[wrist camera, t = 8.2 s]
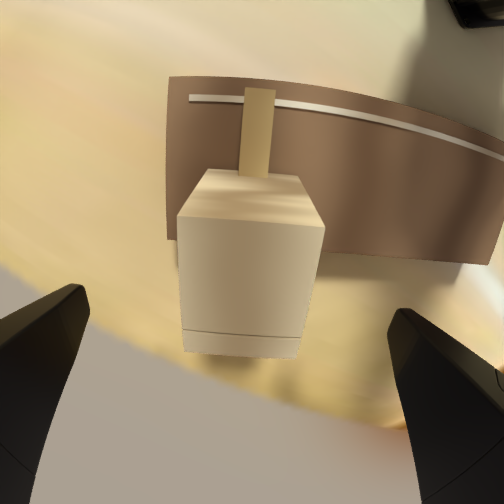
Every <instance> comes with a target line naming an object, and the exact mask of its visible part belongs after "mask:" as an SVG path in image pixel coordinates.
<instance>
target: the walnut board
mask: <svg viewBox="0 0 504 504" xmlns="http://www.w3.org/2000/svg"><path fill="white" fill-rule="evenodd" d="M245 87H249V88H262V89H272V90H276V94H275V105H274V115H273V126H272V136H271V146H270V157H269V167H268V173H274V174H284V175H294V176H298V177H299V179H300V181H301V183H302V184H303V186H304V188H305V190H306V192H307V194H308V195H309V197H310V199H311V201H312V203H313V205H314V207H315V208H316V210H317V212H318V214H319V216H320V218H321V220H322V222H323V224H324V226H325V232H324V238H323V243H322V248H321V251H324V252H337V253H349V254H362V255H374V256H386V257H398V258H410V259H421V260H433V261H445V262H456V263H468V264H479V265H488V264H489V261H490V259H491V256H492V253H493V251H494V248H495V245H496V242H497V239H498V236H499V233H500V230H501V227H502V224H503V221H504V142H503V141H501V140H499V139H497V138H494V137H492V136H490V135H488V134H485V133H483V132H481V131H478V130H476V129H473V128H471V127H468V126H466V125H463V124H460V123H458V122H455V121H452V120H450V119H447V118H444V117H441V116H438V115H435V114H432V113H429V112H426V111H423V110H419V109H416V108H413V107H409V106H406V105H402V104H399V103H395V102H391V101H387V100H384V99H380V98H375V97H371V96H367V95H362V94H358V93H353V92H348V91H343V90H338V89H332V88H327V87H321V86H314V85H308V84H301V83H293V82H285V81H275V80H265V79H253V78H237V77H210V76H181V77H169V85H168V103H167V128H166V219H167V240H177V215H178V213H179V212H180V210H181V208H182V207H183V205H184V204H185V202H186V201H187V199H188V198H189V196H190V195H191V193H192V192H193V190H194V189H195V187H196V186H197V184H198V183H199V181H200V180H201V178H202V177H203V175H204V174H205V172H206V171H207V170H208V169H222V170H237V171H239V159H240V145H241V132H242V119H243V107H244V95H245Z"/></svg>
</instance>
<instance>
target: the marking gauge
mask: <svg viewBox="0 0 504 504" xmlns="http://www.w3.org/2000/svg"><path fill="white" fill-rule="evenodd" d="M275 94H276V90H272V89H262V88H249V87H245V95H244V107H243V119H242V132H241V145H240V159H239V171H237V170H222V169H208V170H207V171H206V172H205V174H204V175H203V177H202V178H201V180H200V181H199V183H198V184H197V186H196V187H195V189H194V190H193V192H192V193H191V195H190V196H189V198H188V199H187V201H186V202H185V204H184V205H183V207H182V208H181V210H180V212H179V213H178V215H177V246H178V272H179V291H180V307H181V321H182V329H183V331H182V333H183V345H184V352H193V353H203V354H213V355H225V356H238V357H253V358H272V359H296V357H297V353H298V349H299V345H300V341H301V337H302V333H303V329H304V325H305V321H306V317H307V312H308V308H309V304H310V300H311V295H312V291H313V286H314V282H315V277H316V272H317V267H318V263H319V258H320V253H321V248H322V243H323V238H324V232H325V226H324V224H323V222H322V220H321V218H320V216H319V214H318V212H317V210H316V208H315V207H314V205H313V203H312V201H311V199H310V197H309V195H308V194H307V192H306V190H305V188H304V186H303V184H302V183H301V181H300V179H299V177H298V176H294V175H284V174H274V173H268V167H269V157H270V146H271V136H272V126H273V115H274V105H275Z"/></svg>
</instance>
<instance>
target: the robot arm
mask: <svg viewBox="0 0 504 504" xmlns="http://www.w3.org/2000/svg"><path fill="white" fill-rule="evenodd" d="M448 1H449V3H450V5H451V7H452V9H453V11H454V13H455V15H456V17H457V20H458V22H459V24H460V25H461V26H462V27H463V28H464V29H473V28H483V27H497V26H504V0H448ZM464 19H465V20H466V22H467V24H466V23H465V20H464ZM89 315H90V307H89V303H88V299H87V295H86V291H85V288H84V286H83V285H80V284H73V283H72V284H68V285H66V286H64V287H62V288H60V289H58V290H56V291H54V292H52V293H50V294H48V295H46V296H44V297H43V298H40V299H38V300H36V301H35V302H33V303H31V304H29V305H27V306H25V307H23V308H21V309H19V310H17V311H15V312H13V313H11V314H10V315H8V316H6V317H4V318H2V319H0V504H29V502H30V497H31V493H32V489H33V485H34V481H35V475H36V472H37V468H38V465H39V461H40V457H41V454H42V450H43V447H44V444H45V441H46V438H47V434H48V431H49V428H50V425H51V422H52V419H53V416H54V414H55V411H56V408H57V405H58V402H59V399H60V397H61V394H62V392H63V389H64V386H65V384H66V381H67V379H68V376H69V374H70V371H71V369H72V366H73V364H74V361H75V358H76V356H77V352H78V350H79V346H80V343H81V340H82V337H83V333H84V331H85V327H86V325H87V322H88V319H89ZM387 339H388V344H389V349H390V355H391V360H392V366H393V372H394V377H395V382H396V386H397V389H398V393H399V397H400V401H401V405H402V409H403V413H404V417H405V421H406V425H407V429H408V434H409V438H410V442H411V447H412V452H413V457H414V462H415V466H416V472H417V477H418V483H419V489H420V496H421V501H422V504H504V374H503V373H502V372H500V371H499V370H497V369H495V368H494V367H493V366H492V365H491V364H489V363H488V362H486V361H485V360H484V359H482V358H481V357H480V356H478V355H477V354H475V353H474V352H473V351H471V350H470V349H468V348H467V347H466V346H464V345H463V344H461V343H460V342H458V341H457V340H456V339H454V338H453V337H451V336H450V335H448V334H447V333H446V332H444V331H443V330H441V329H440V328H438V327H437V326H435V325H434V324H433V323H431V322H430V321H428V320H427V319H425V318H424V317H422V316H421V315H419V314H418V313H416V312H415V311H413V310H412V309H410V308H399V309H397V310H396V312H395V314H394V316H393V319H392V321H391V324H390V326H389V328H388V332H387Z"/></svg>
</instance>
